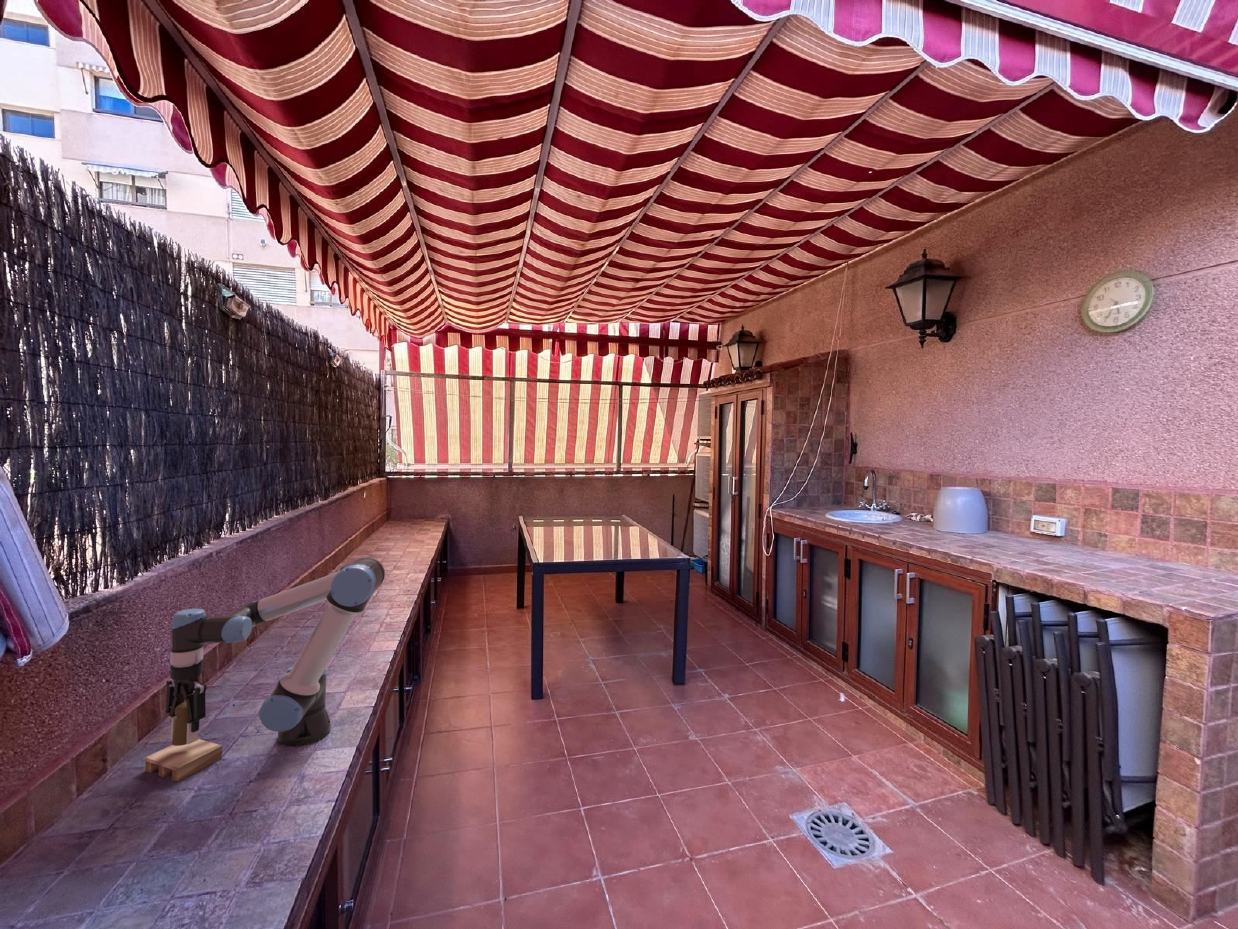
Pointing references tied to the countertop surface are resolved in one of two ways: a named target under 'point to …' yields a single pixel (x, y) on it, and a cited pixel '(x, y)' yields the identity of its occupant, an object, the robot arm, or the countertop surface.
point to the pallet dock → (183, 759)
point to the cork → (181, 725)
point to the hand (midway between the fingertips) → (184, 739)
